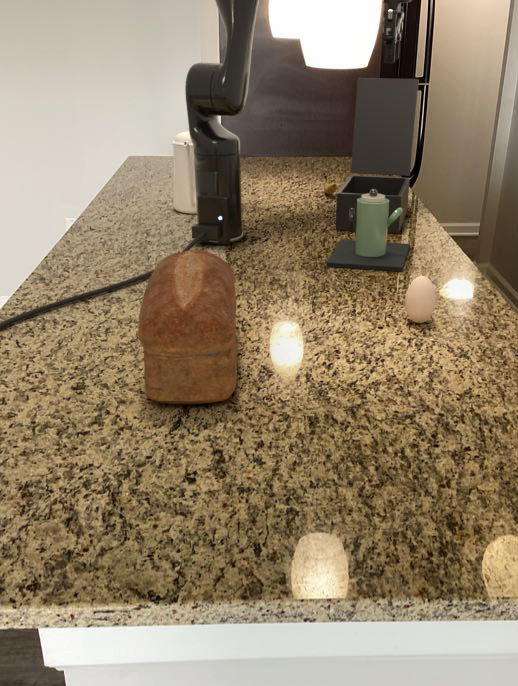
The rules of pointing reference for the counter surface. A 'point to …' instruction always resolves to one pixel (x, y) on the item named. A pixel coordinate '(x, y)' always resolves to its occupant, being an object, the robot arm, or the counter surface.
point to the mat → (388, 262)
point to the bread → (189, 329)
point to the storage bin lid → (384, 126)
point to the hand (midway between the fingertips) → (391, 61)
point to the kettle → (372, 224)
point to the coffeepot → (184, 174)
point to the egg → (420, 299)
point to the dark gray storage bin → (359, 185)
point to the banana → (329, 187)
